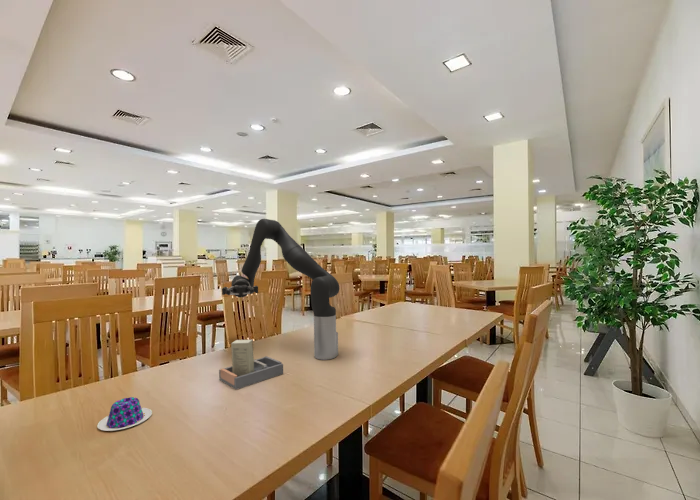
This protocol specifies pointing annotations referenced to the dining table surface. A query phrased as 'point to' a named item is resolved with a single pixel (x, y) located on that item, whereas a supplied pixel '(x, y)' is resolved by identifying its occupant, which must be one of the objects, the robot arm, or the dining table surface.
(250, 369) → the skincare box
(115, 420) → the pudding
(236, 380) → the pusher lane
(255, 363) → the bar
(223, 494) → the dining table surface
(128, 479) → the dining table surface
